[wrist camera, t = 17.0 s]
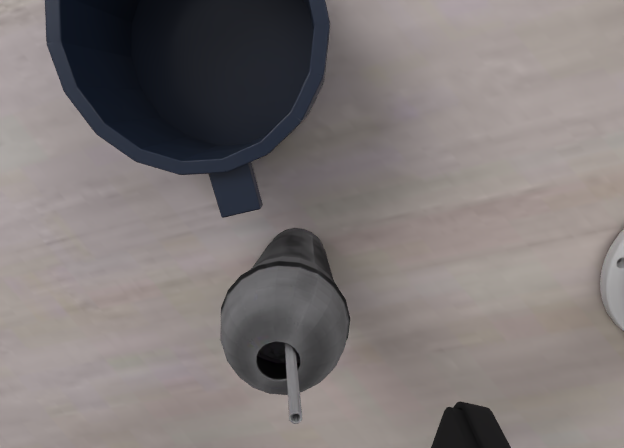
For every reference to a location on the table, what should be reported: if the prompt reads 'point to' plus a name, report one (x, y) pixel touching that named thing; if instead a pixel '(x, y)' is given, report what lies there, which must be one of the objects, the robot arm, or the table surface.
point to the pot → (192, 80)
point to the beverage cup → (285, 319)
